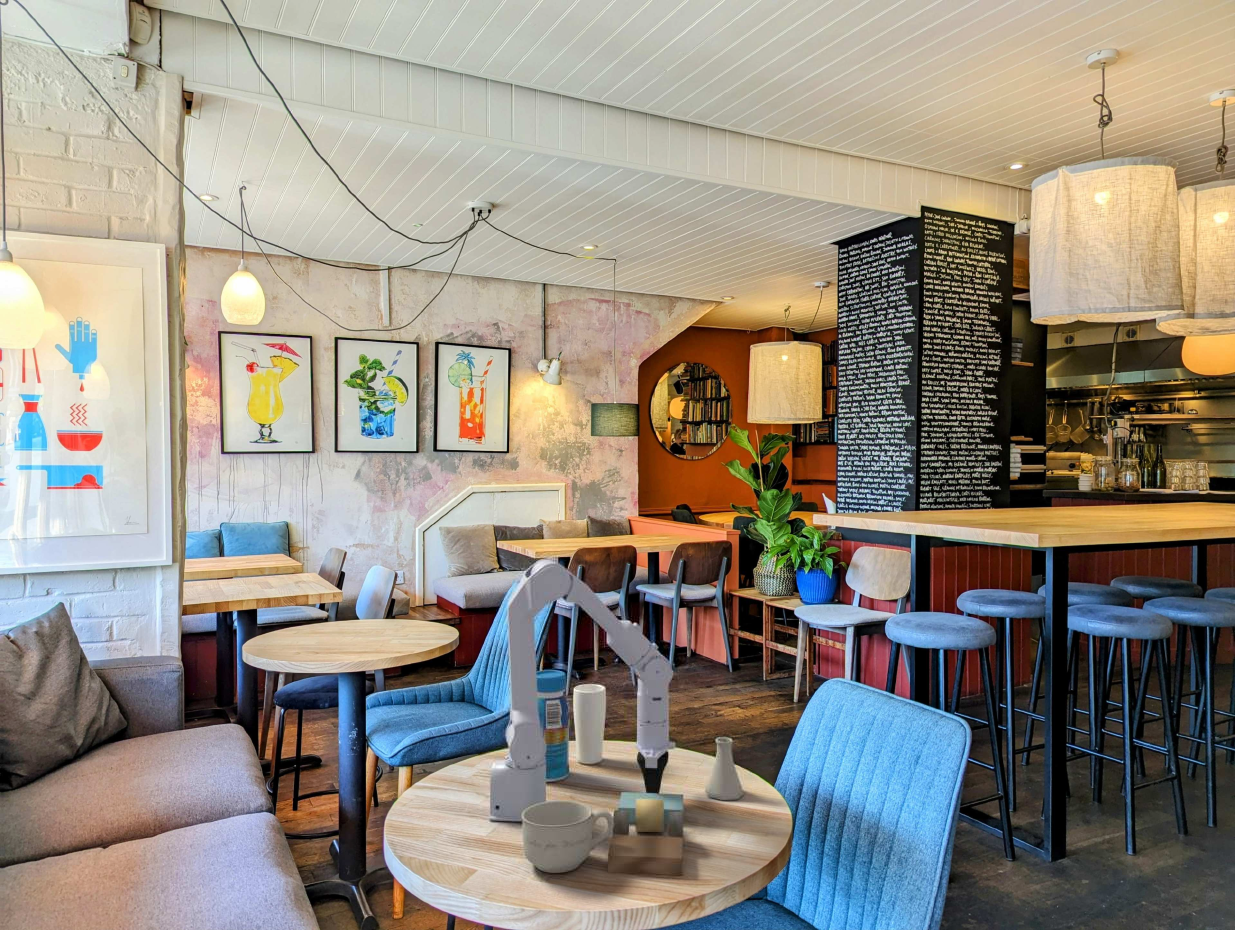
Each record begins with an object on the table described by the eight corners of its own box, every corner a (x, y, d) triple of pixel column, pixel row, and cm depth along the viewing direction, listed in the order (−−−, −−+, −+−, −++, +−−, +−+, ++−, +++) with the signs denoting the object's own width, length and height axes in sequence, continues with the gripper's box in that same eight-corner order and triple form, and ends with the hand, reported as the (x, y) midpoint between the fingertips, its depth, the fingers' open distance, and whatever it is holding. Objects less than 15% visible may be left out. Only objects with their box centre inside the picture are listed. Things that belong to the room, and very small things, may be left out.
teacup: (515, 880, 118) (515, 825, 118) (527, 846, 129) (527, 795, 129) (611, 883, 118) (611, 827, 118) (615, 848, 128) (615, 797, 128)
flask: (743, 803, 146) (742, 747, 147) (702, 799, 148) (702, 744, 148) (745, 788, 154) (744, 734, 154) (706, 785, 155) (706, 732, 155)
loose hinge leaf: (615, 835, 133) (615, 804, 133) (621, 806, 145) (621, 778, 145) (682, 838, 132) (682, 807, 132) (683, 808, 144) (683, 780, 144)
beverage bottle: (519, 780, 157) (519, 676, 157) (538, 765, 165) (538, 666, 165) (559, 786, 154) (559, 680, 155) (576, 771, 162) (577, 670, 162)
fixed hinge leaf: (608, 872, 121) (608, 838, 121) (615, 835, 133) (615, 804, 133) (682, 875, 120) (682, 841, 120) (682, 838, 132) (683, 807, 132)
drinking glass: (612, 759, 169) (612, 686, 169) (593, 768, 163) (594, 694, 164) (585, 753, 173) (585, 682, 173) (566, 762, 167) (566, 689, 167)
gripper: (674, 731, 139) (674, 811, 139) (675, 707, 154) (675, 780, 154) (633, 730, 140) (633, 810, 140) (638, 706, 154) (638, 778, 154)
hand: (652, 794), depth 147 cm, fingers closed
